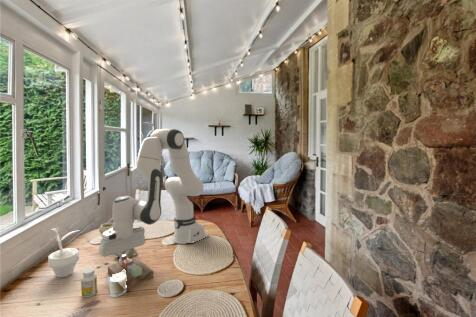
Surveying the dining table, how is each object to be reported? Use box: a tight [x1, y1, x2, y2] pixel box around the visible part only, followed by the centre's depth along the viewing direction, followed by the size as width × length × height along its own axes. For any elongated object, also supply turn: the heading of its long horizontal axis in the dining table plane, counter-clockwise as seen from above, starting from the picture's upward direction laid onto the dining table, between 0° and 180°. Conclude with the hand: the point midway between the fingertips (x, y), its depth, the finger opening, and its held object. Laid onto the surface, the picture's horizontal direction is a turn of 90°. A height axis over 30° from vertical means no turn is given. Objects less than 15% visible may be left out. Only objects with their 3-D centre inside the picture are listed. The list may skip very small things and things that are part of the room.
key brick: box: [123, 258, 133, 270], centre depth 117 cm, size 3×3×3 cm
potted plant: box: [47, 225, 81, 278], centre depth 115 cm, size 13×12×25 cm
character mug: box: [98, 222, 113, 235], centre depth 144 cm, size 11×7×13 cm, turn 78°
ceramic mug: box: [114, 248, 138, 259], centre depth 134 cm, size 11×8×8 cm
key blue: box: [127, 264, 137, 274], centre depth 114 cm, size 3×3×3 cm
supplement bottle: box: [80, 267, 98, 298], centre depth 101 cm, size 5×5×10 cm
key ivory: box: [118, 258, 128, 266], centre depth 120 cm, size 3×3×3 cm
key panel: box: [107, 256, 154, 289], centre depth 115 cm, size 13×19×3 cm
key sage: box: [131, 265, 142, 278], centre depth 110 cm, size 3×3×3 cm
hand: (123, 259), depth 120 cm, fingers closed, pressing on key ivory
